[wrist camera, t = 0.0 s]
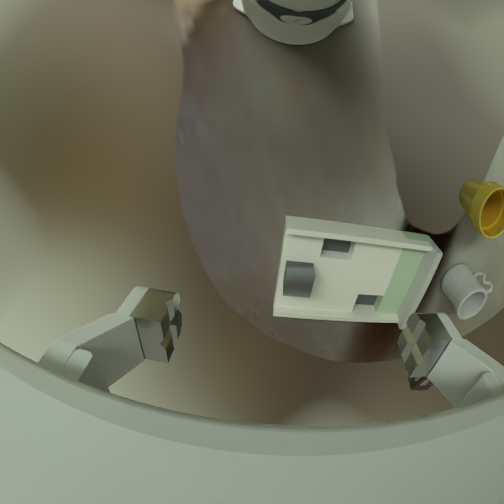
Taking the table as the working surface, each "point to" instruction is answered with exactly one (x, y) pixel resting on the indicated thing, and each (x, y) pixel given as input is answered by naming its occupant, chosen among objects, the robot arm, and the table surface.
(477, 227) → the plant pot
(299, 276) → the block
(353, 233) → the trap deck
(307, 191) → the table surface
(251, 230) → the table surface
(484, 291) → the mug
